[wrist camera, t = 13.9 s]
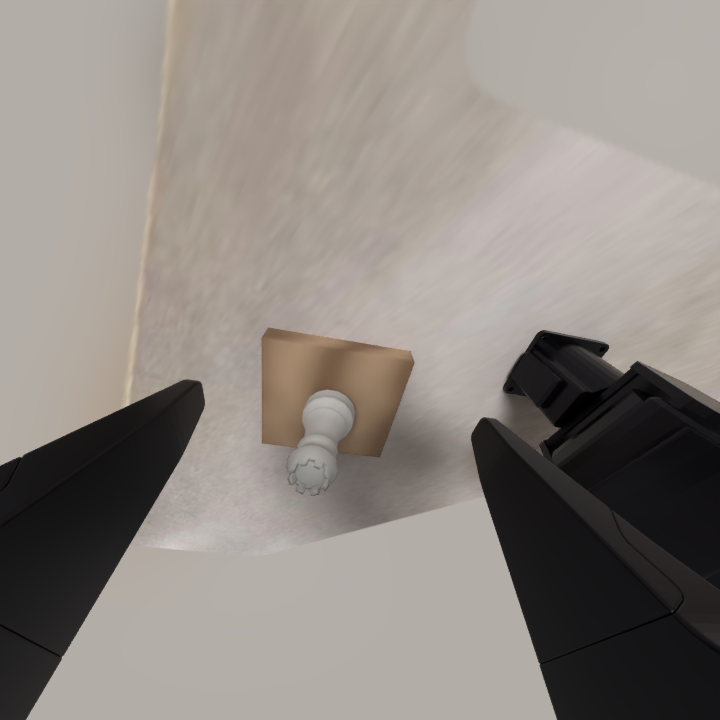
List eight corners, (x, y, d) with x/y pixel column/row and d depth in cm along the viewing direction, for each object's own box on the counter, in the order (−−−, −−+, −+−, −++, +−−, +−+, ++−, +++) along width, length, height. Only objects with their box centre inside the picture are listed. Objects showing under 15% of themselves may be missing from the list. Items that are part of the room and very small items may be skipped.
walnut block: (409, 347, 23) (414, 362, 21) (377, 438, 29) (379, 457, 27) (270, 323, 22) (261, 338, 20) (269, 424, 28) (262, 443, 26)
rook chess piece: (354, 386, 22) (343, 447, 15) (357, 431, 24) (348, 508, 16) (302, 387, 22) (265, 447, 15) (308, 432, 24) (277, 507, 16)
